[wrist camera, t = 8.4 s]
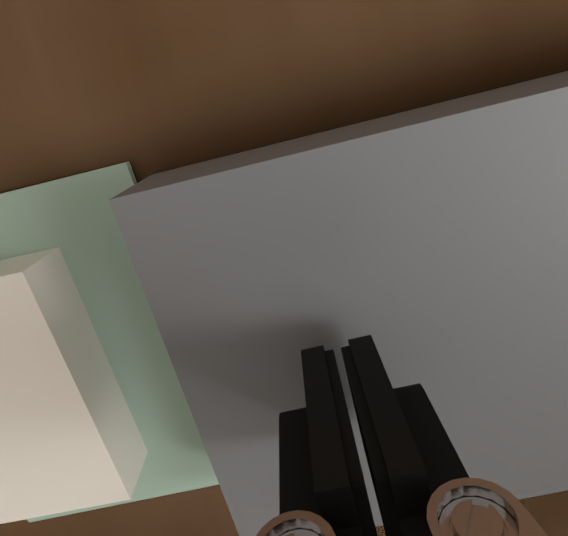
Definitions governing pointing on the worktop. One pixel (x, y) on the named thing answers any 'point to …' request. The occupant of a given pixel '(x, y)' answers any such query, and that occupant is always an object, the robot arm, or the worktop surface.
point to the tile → (58, 398)
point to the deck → (372, 282)
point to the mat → (113, 317)
